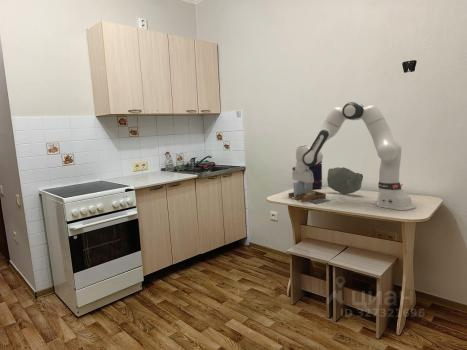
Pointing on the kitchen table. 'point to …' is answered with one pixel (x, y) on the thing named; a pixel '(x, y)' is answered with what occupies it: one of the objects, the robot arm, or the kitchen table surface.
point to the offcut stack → (308, 194)
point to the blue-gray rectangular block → (302, 188)
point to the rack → (317, 196)
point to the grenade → (317, 175)
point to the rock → (344, 180)
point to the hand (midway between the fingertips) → (303, 187)
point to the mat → (319, 201)
